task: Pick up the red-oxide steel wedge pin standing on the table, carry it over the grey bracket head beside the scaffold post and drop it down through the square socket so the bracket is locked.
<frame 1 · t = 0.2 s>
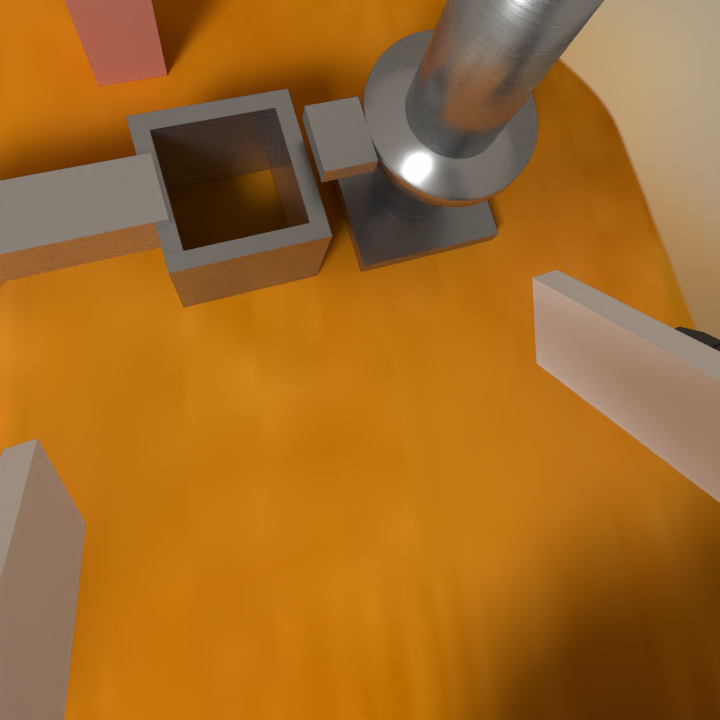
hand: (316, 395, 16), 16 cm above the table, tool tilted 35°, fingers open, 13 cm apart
bracket: (233, 227, 32), on the table
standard: (407, 189, 34), on the table
wedge pin: (125, 50, 33), on the table
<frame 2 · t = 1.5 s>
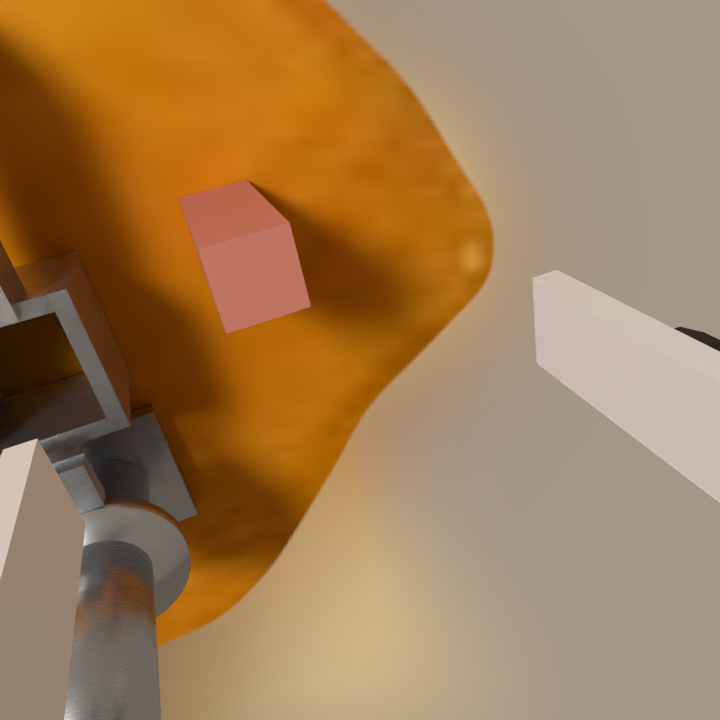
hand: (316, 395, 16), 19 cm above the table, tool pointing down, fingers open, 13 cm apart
bracket: (34, 335, 31), on the table
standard: (109, 480, 36), on the table
wedge pin: (222, 222, 32), on the table
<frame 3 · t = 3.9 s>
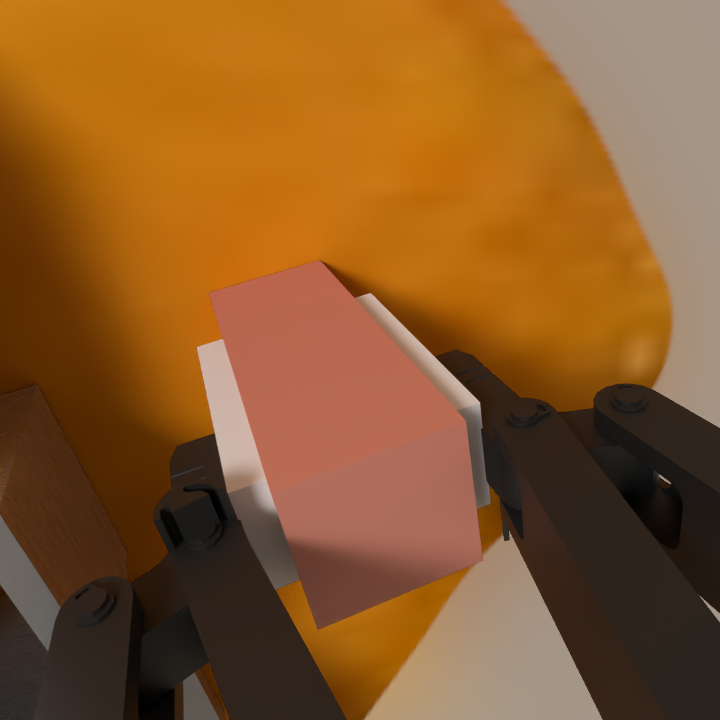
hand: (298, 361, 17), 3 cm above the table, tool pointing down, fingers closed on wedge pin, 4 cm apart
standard: (96, 697, 24), on the table
wedge pin: (279, 326, 20), on the table, touching gripper
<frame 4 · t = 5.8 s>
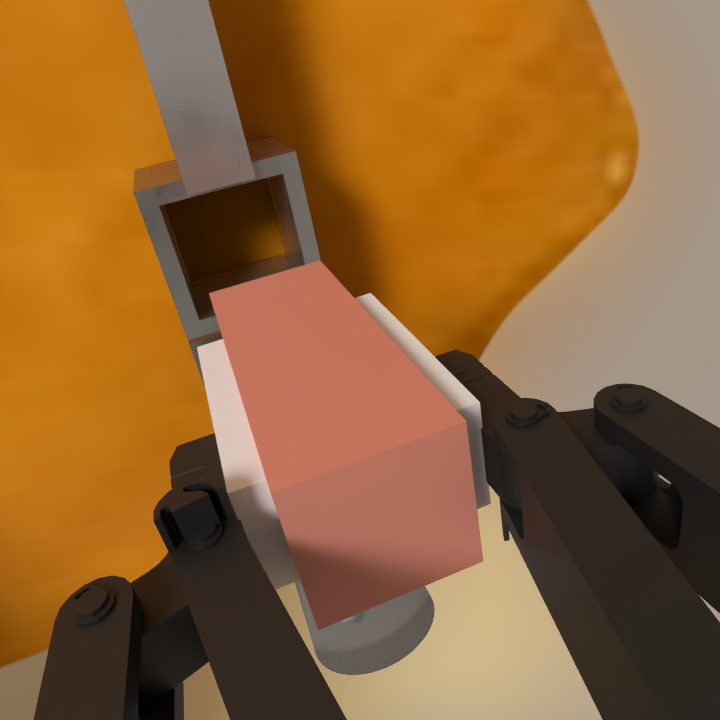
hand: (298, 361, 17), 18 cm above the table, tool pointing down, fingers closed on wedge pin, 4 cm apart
bracket: (224, 219, 33), on the table
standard: (271, 373, 38), on the table
wedge pin: (279, 327, 20), point 16 cm above the table, touching gripper
when the fingers open (8 cm above the table, at t = 8.0 s): wedge pin drops 5 cm, resting in bracket.
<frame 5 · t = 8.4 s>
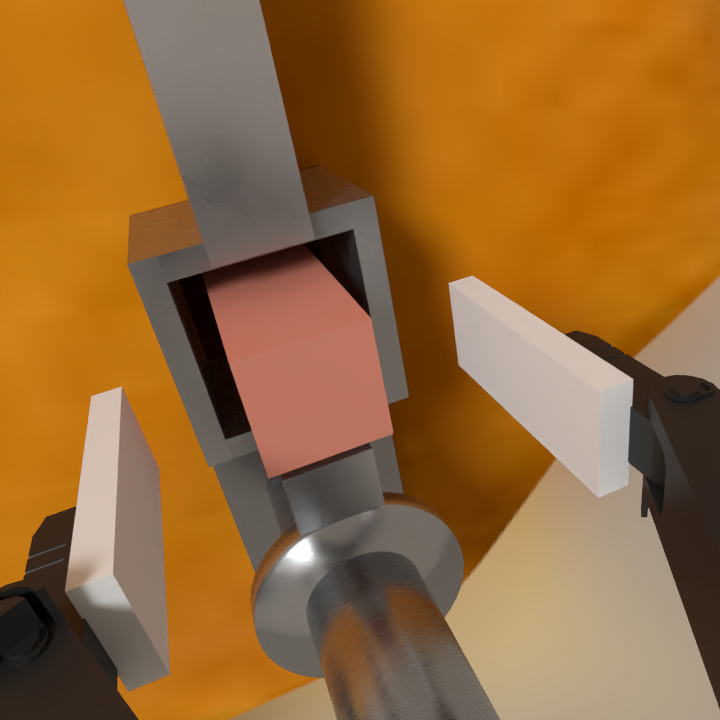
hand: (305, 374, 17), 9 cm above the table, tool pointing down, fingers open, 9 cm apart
bracket: (254, 279, 24), on the table
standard: (311, 471, 29), on the table
wedge pin: (253, 279, 24), resting in bracket
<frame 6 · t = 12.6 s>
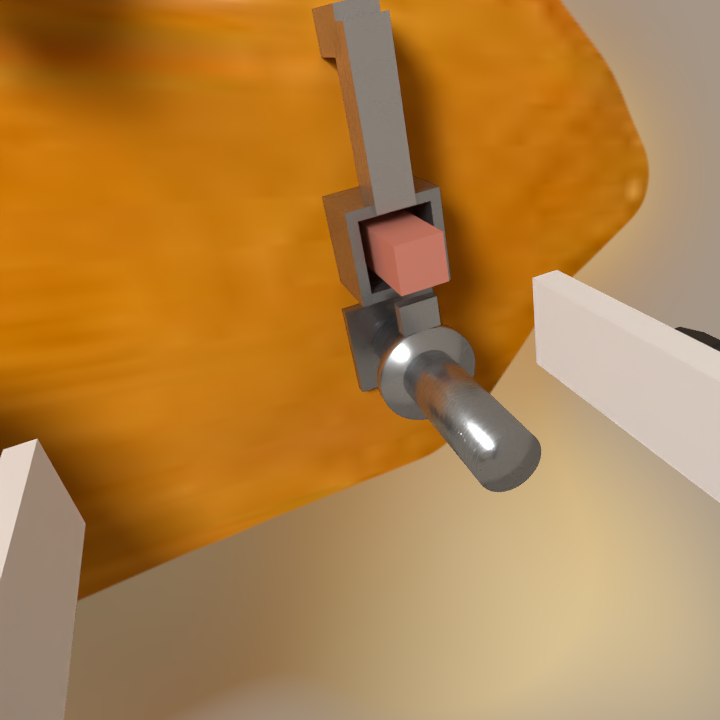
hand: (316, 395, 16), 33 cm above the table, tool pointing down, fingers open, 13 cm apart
bracket: (373, 228, 49), on the table
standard: (392, 335, 54), on the table
wedge pin: (372, 228, 49), resting in bracket
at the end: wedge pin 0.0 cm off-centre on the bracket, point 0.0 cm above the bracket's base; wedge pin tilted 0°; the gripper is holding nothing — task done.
